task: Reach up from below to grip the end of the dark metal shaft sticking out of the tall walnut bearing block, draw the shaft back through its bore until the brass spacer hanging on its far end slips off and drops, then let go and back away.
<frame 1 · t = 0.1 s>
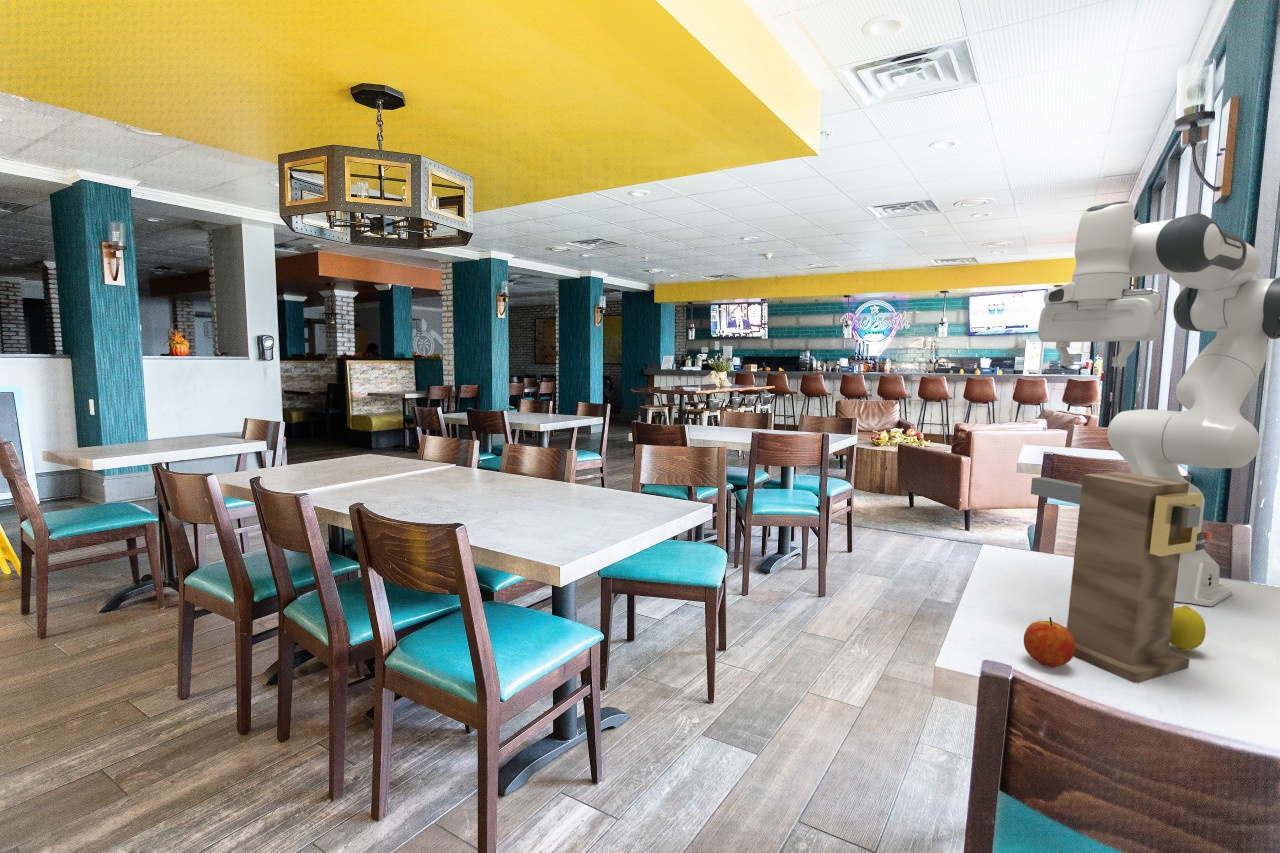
hand: (1091, 366, 120), 48 cm above the table, tool pointing down, fingers open, 8 cm apart
spacer: (1172, 552, 98), point 20 cm above the table, touching shaft
bearing block: (1114, 655, 106), on the table
shaft: (1106, 508, 107), point 24 cm above the table, touching bearing block, spacer
lemon: (1180, 652, 108), on the table
sprinkles bottle: (1155, 630, 117), on the table
fruit: (1046, 665, 102), on the table
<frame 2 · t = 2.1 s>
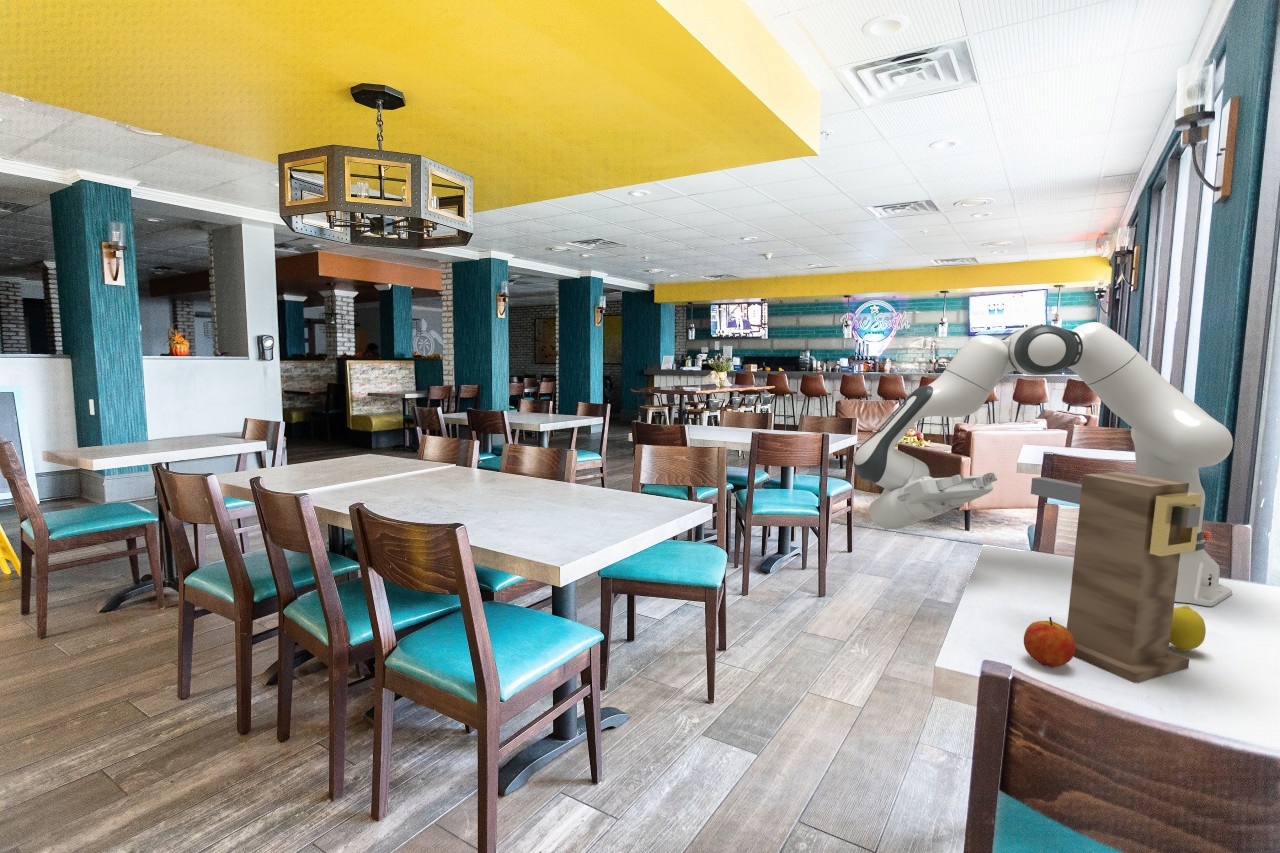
hand: (978, 477, 130), 25 cm above the table, tool pointing upward, fingers open, 8 cm apart
nothing on the table moved.
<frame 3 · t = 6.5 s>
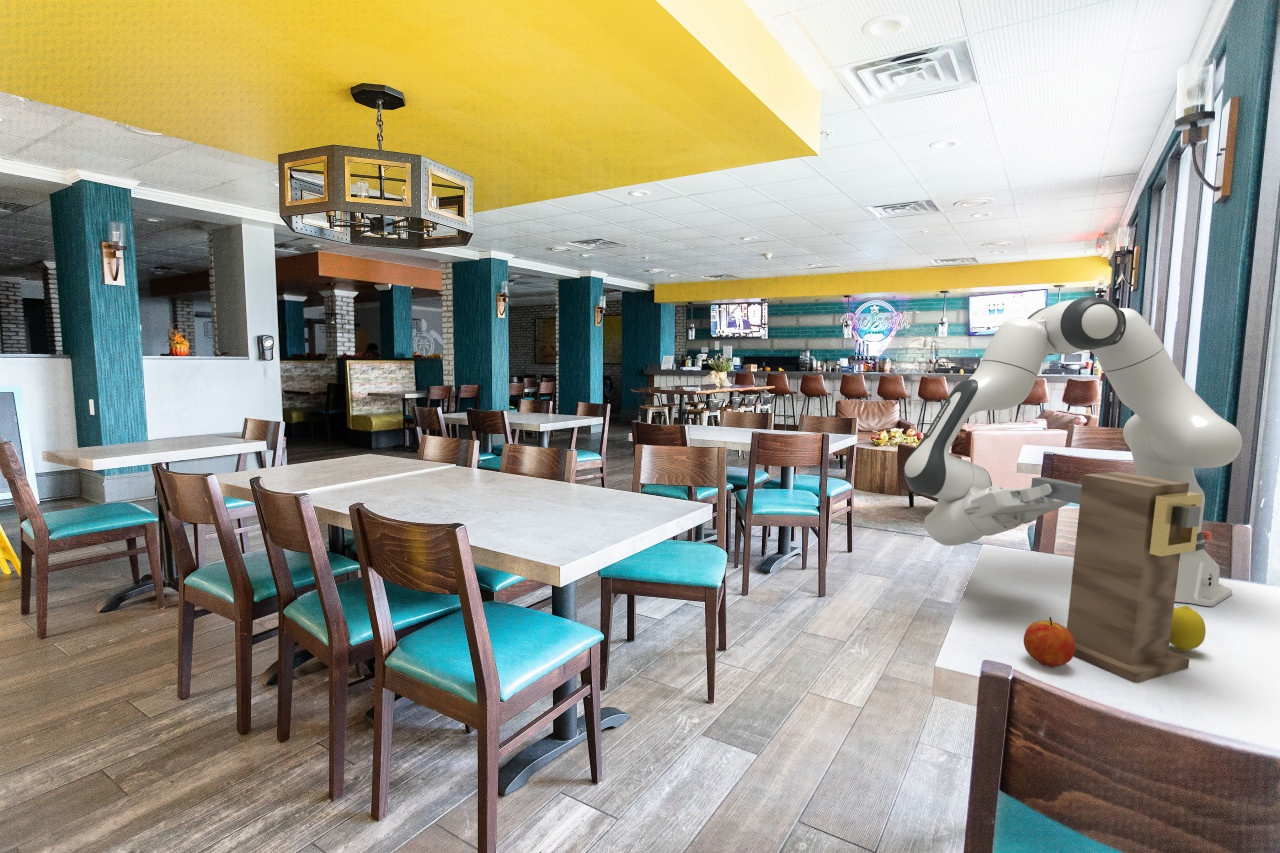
hand: (1060, 487, 114), 26 cm above the table, tool pointing upward, fingers closed on shaft, 3 cm apart
shaft: (1106, 508, 107), point 24 cm above the table, touching bearing block, gripper, spacer
everything else where it was.
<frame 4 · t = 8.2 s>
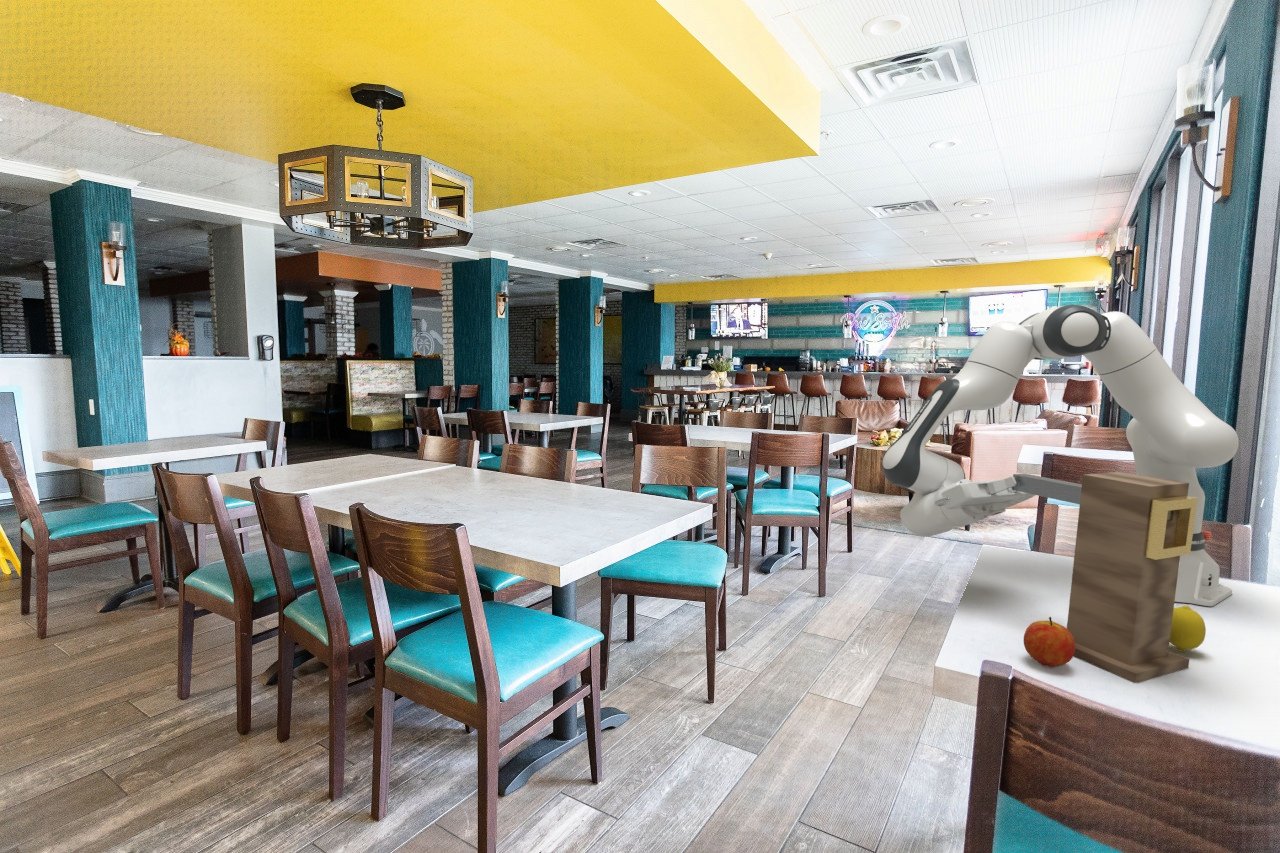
hand: (1024, 479, 120), 26 cm above the table, tool pointing upward, fingers closed on shaft, 3 cm apart
spacer: (1167, 555, 99), point 19 cm above the table
shaft: (1083, 503, 110), point 24 cm above the table, touching gripper
everything else where it was.
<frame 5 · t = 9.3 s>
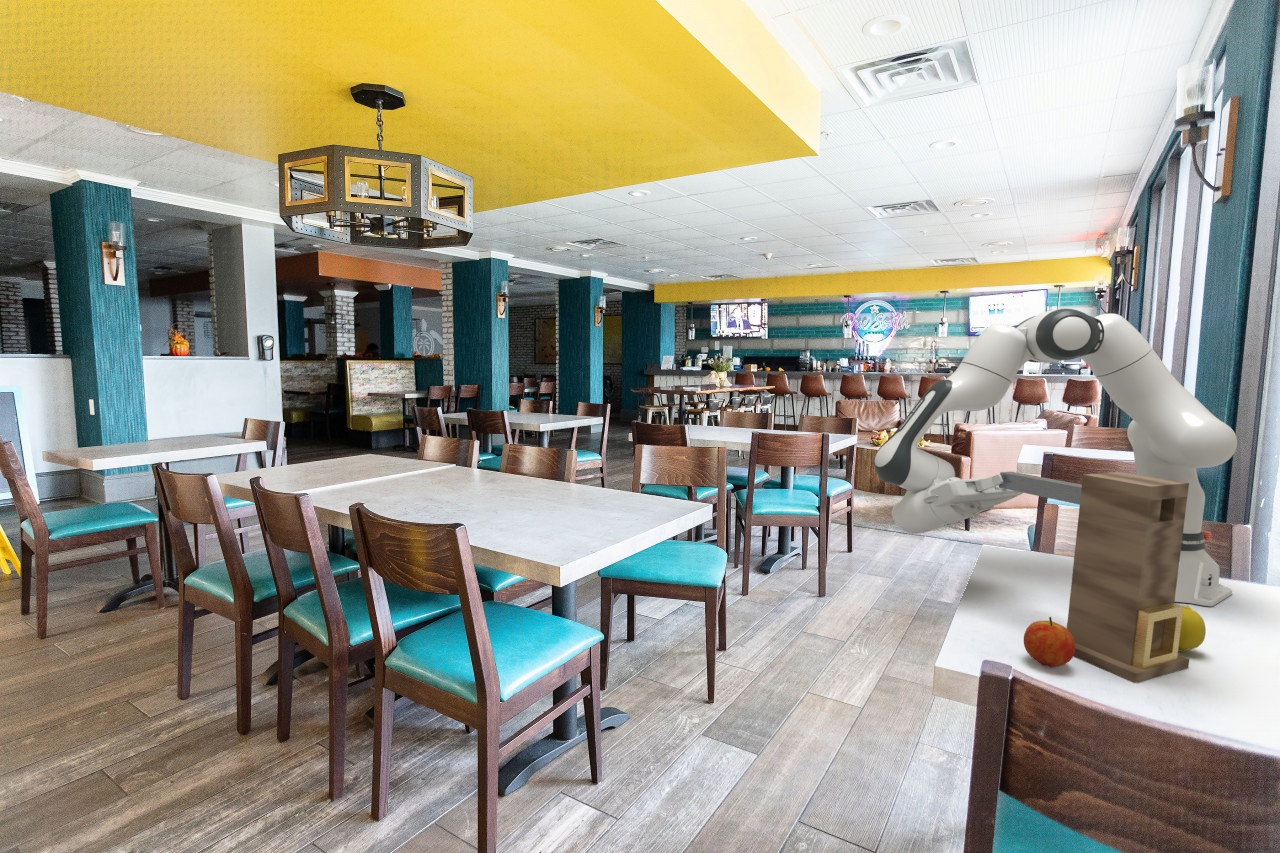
hand: (1011, 477, 122), 26 cm above the table, tool pointing upward, fingers closed on shaft, 3 cm apart
spacer: (1154, 662, 100), point 1 cm above the table, touching bearing block
shaft: (1067, 500, 112), point 24 cm above the table, touching bearing block, gripper
everything else where it was.
when the fingers open (26 cm above the table, at t = 10.4 s): shaft stays where it is, resting on bearing block.
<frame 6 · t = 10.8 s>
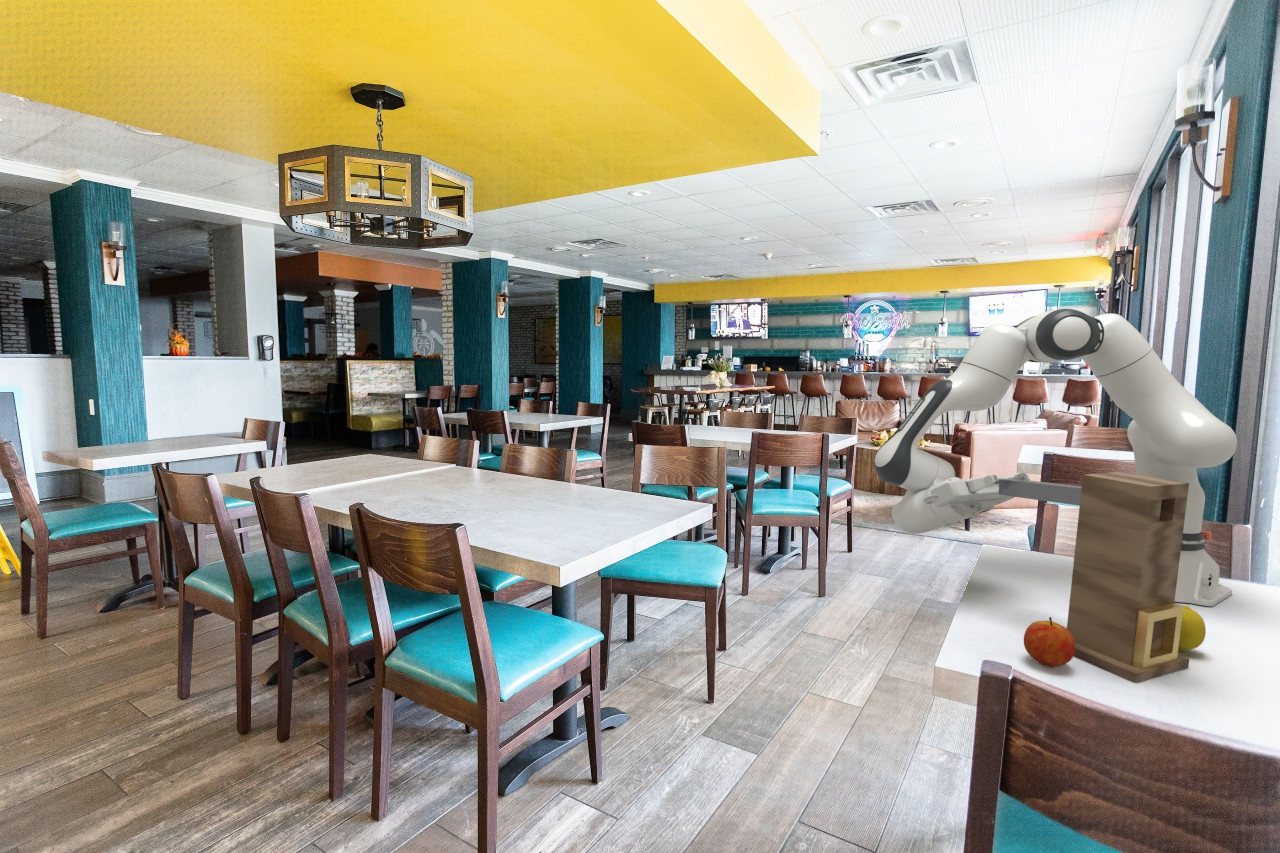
hand: (1011, 477, 122), 26 cm above the table, tool pointing upward, fingers open, 7 cm apart
shaft: (1067, 502, 113), point 24 cm above the table, touching bearing block
everything else where it was.
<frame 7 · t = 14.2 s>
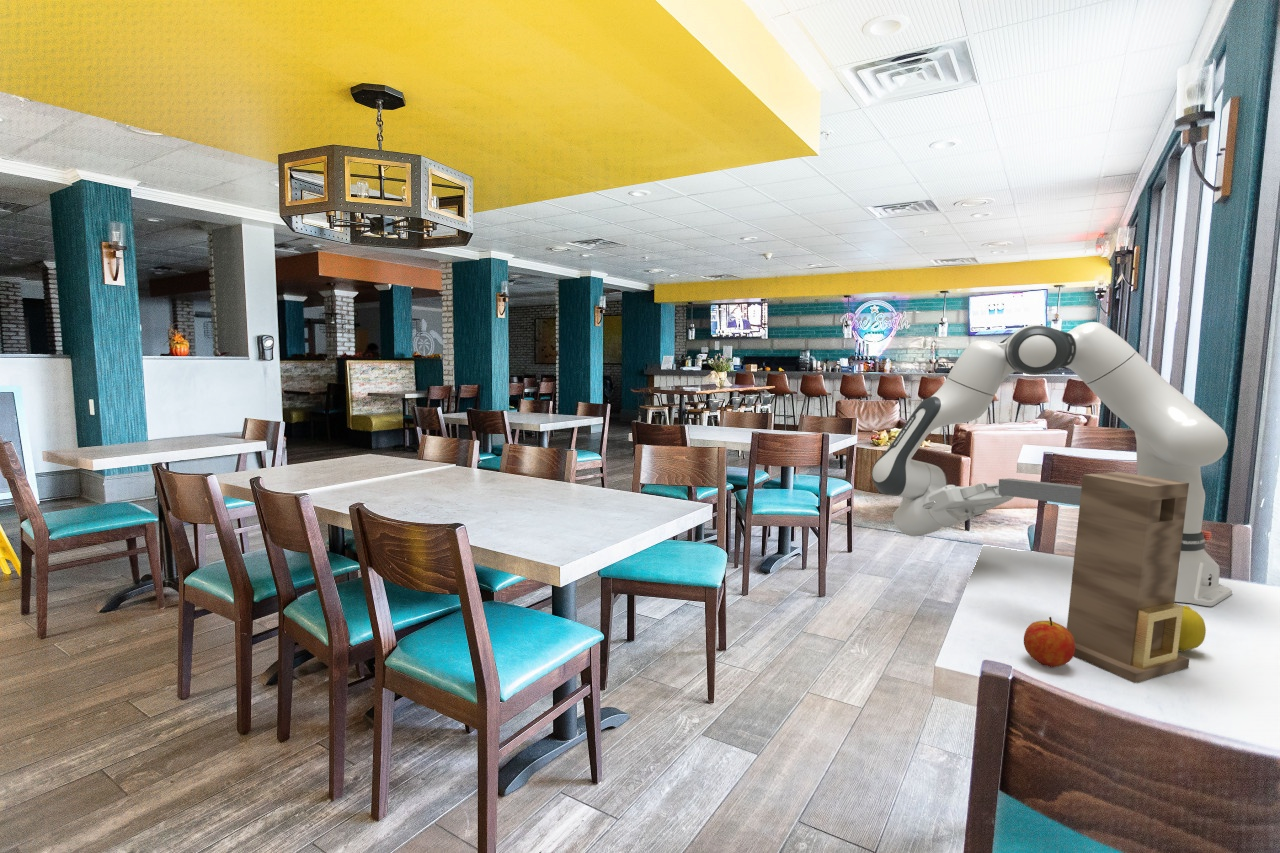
hand: (1000, 485, 136), 22 cm above the table, tool pointing upward, fingers open, 8 cm apart
nothing on the table moved.
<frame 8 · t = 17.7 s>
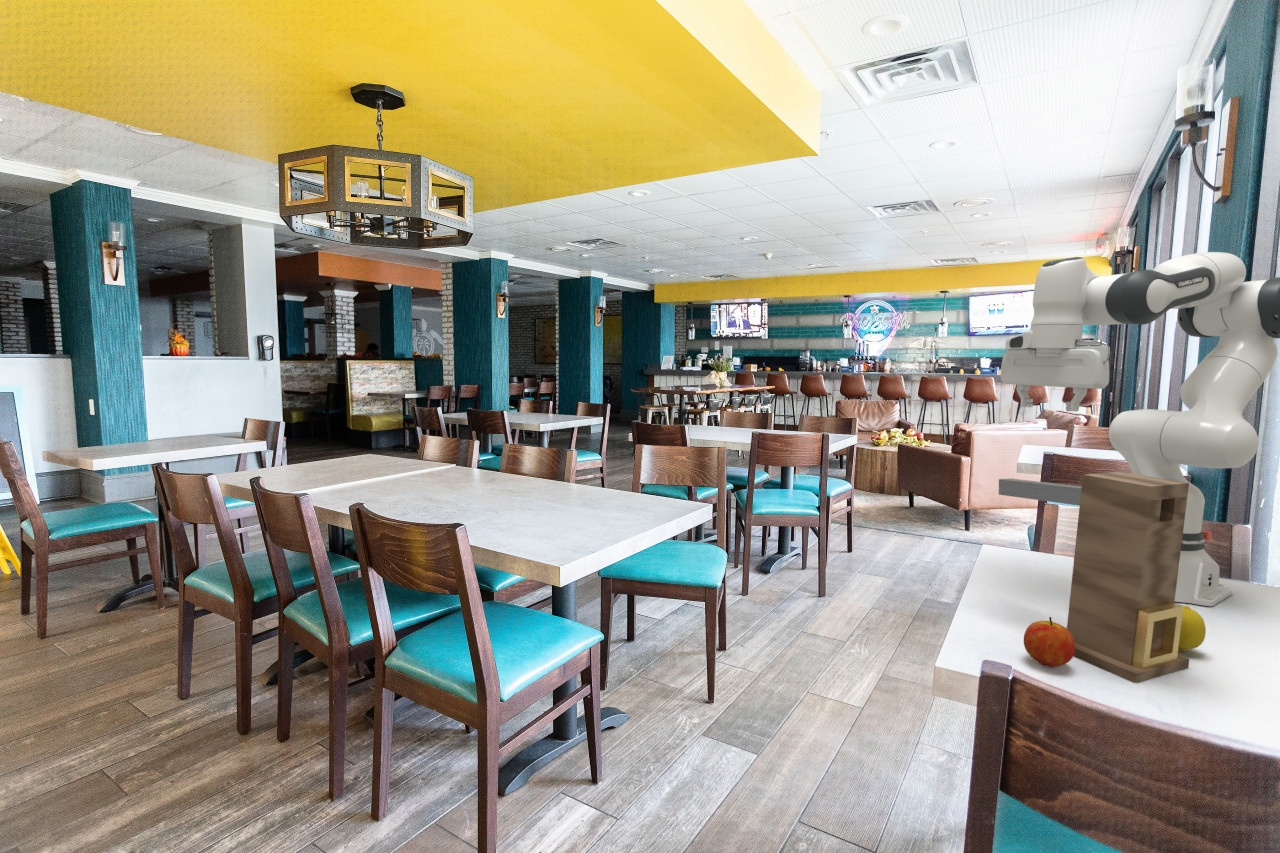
hand: (1048, 409, 129), 39 cm above the table, tool pointing down, fingers open, 8 cm apart
nothing on the table moved.
at the end: spacer point 1.5 cm above the table; shaft inside the target area (1.2 cm from its centre), point 23.8 cm above the table; the gripper is holding nothing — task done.
